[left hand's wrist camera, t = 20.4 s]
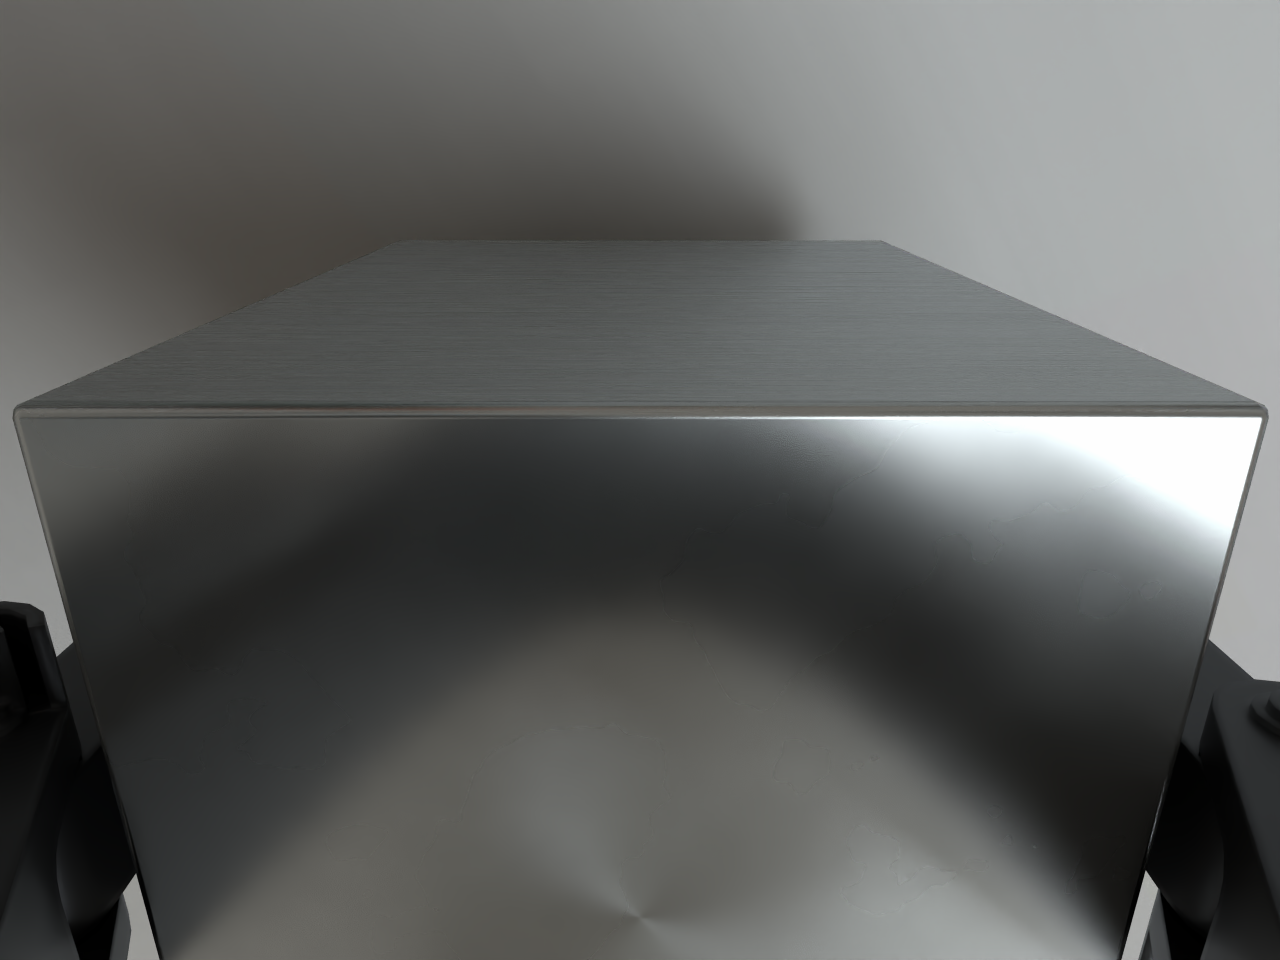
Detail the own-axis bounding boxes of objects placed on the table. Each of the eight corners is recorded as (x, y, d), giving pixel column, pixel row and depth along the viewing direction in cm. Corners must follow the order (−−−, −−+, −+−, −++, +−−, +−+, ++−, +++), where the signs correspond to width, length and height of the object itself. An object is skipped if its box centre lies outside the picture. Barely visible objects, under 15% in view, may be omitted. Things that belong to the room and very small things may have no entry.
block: (841, 683, 17) (1048, 1244, 8) (439, 683, 17) (232, 1244, 8) (884, 240, 14) (1279, 404, 5) (395, 240, 14) (2, 404, 5)
